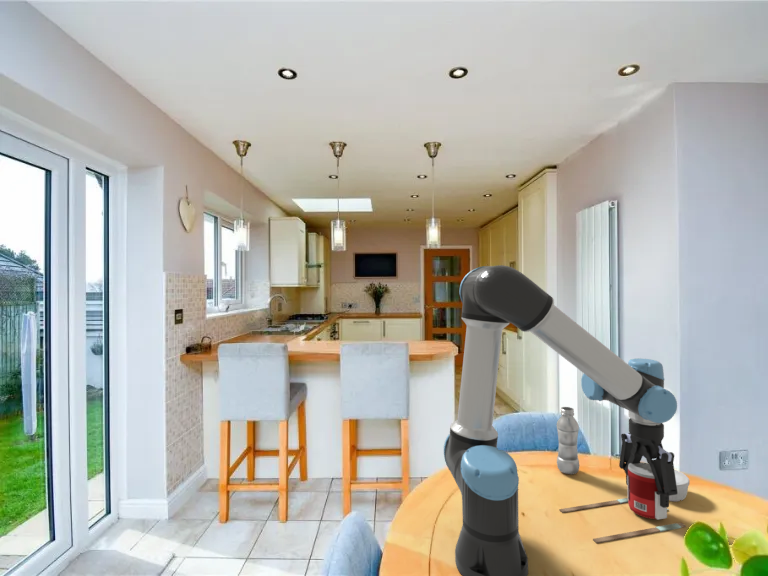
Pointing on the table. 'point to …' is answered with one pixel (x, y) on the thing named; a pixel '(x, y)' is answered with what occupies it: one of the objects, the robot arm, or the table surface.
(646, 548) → the table surface
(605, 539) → the guide strips
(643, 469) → the canned food
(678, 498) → the ramekin
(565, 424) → the plastic bottle
